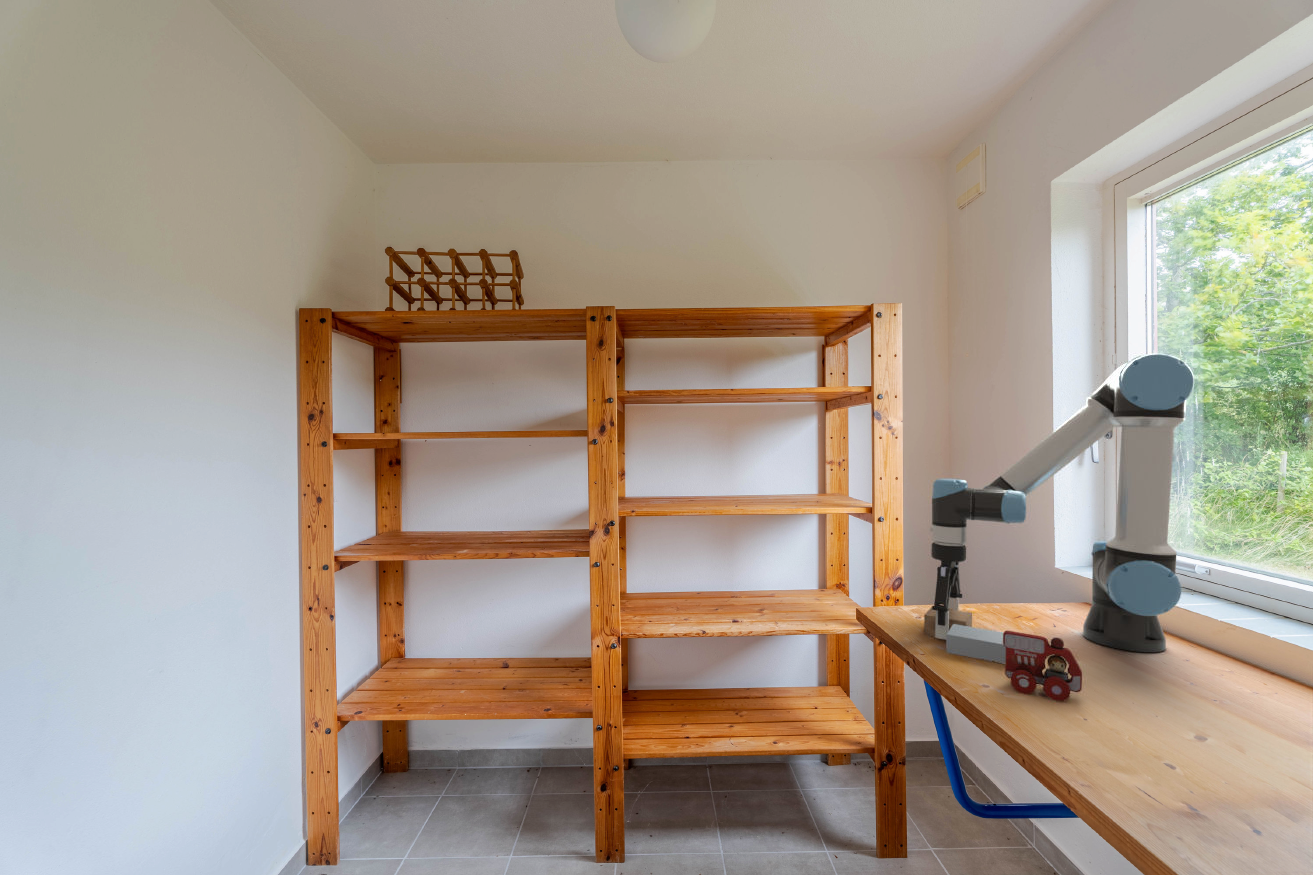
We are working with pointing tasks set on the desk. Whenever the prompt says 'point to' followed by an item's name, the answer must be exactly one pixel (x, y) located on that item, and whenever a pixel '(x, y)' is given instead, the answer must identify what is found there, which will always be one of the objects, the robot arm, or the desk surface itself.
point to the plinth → (976, 643)
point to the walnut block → (954, 618)
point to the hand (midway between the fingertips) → (947, 630)
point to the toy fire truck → (1040, 665)
